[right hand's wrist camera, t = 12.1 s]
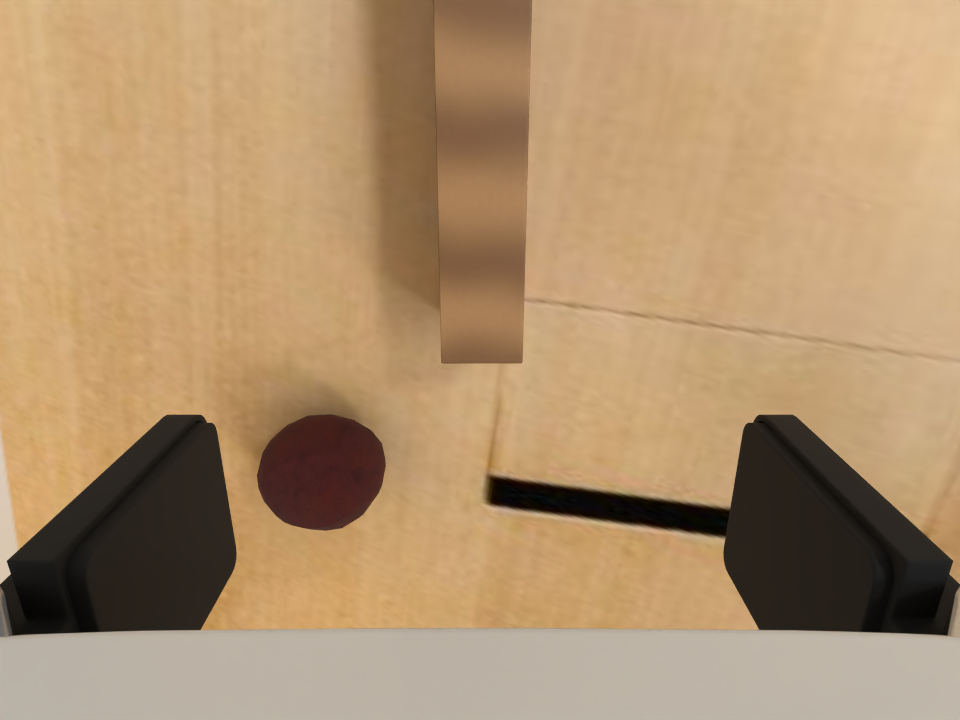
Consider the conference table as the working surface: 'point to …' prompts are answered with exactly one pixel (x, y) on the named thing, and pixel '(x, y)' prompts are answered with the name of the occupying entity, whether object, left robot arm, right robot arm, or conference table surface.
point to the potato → (321, 472)
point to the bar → (482, 175)
